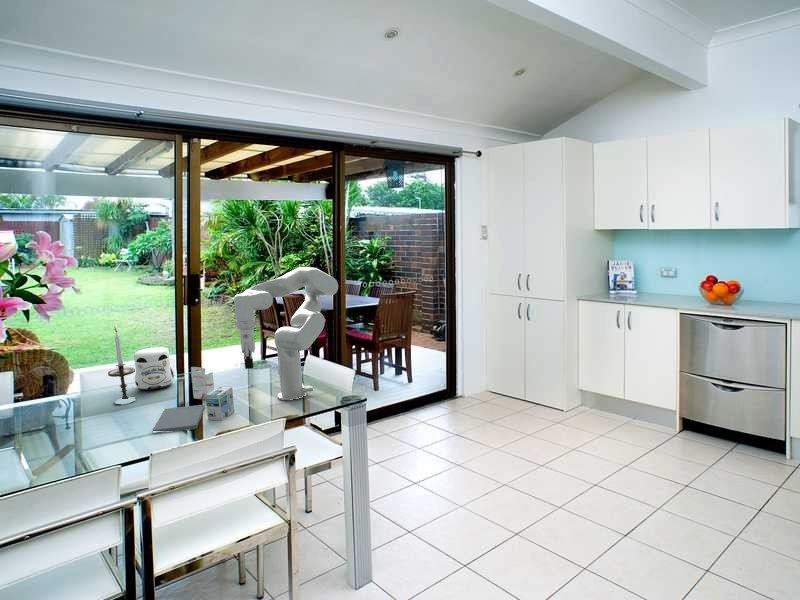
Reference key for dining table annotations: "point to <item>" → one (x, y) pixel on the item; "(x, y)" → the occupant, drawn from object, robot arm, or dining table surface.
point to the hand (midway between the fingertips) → (249, 368)
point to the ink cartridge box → (201, 382)
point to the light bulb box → (219, 403)
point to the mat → (180, 418)
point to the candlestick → (121, 367)
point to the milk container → (153, 368)
